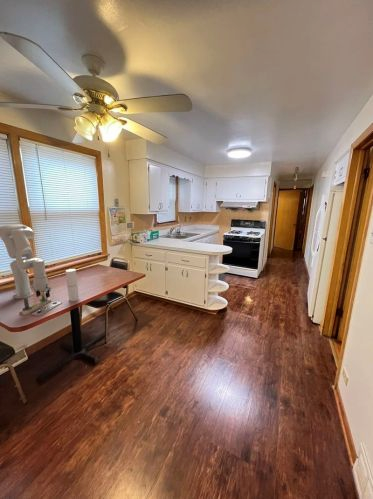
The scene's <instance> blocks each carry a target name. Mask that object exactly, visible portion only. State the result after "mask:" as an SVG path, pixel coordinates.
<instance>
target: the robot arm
mask: <svg viewBox="0 0 373 499" xmlns="http://www.w3.org/2000/svg"><path fill="white" fill-rule="evenodd" d="M33 238H35V232H34V231H33V229H31V227H29V226H27V225H24V224H10V225H9V224H8V225H7V224H6V225H2V226H0V239H1V240H2V242H3V243H4V245H5V248H6V251H7V254H8V256H9V258H10V259H13V261H11V262H10V263H9V264H10V265H9V267H10V270H11V272H12V275H13V280H14V286H15V291H14V292H13V293H14V294H15V295H14V298H15V299H26V298H29V297H31V296H33V295H34V292H35V295H36V298H39V297H41V291H44V292H45V298H48V299H49V297H51V294H50V292H51V291H52V288H53V287H51V286H50V284H49V280H48V277H47V272H46V267H45V266H46V265H45V261H44V260H43V259H41V258H39V257H35V255H34V251H33V249H32V248H31V247H32V244H31V242H30V241H29V240H30V239H33ZM31 269H32V270H33V283H32V284H33V286H32V287H31V283H30V277H29V273H28V272H26V271H28V270H31ZM31 288H32V289H33V290H34V292H33V291H32V290H31Z"/></svg>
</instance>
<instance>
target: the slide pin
mask: <svg viewBox="0 0 373 499" xmlns="http://www.w3.org/2000/svg"><path fill="white" fill-rule="evenodd" d="M40 293H41V296H40V297H41V298H39V301H47V300H48V299H49V297H48V298H46V295H45V293H46V292H45V291H40Z"/></svg>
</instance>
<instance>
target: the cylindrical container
mask: <svg viewBox="0 0 373 499" xmlns="http://www.w3.org/2000/svg"><path fill="white" fill-rule="evenodd" d="M65 277H66V284H67V293H68V300H69V301H70V302H76V301H78V300H79V299H80V295H79V286H78V278H77V269H76V268H70V269H66V270H65Z"/></svg>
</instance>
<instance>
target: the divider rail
mask: <svg viewBox="0 0 373 499" xmlns="http://www.w3.org/2000/svg"><path fill="white" fill-rule="evenodd" d="M28 298H29V297H26V298H23V303H24V307H23V308H22V310H19V312H18V313H19V315H23V316H26V315H28V314H31V313H32V312H34V311H35V310H36V311H37V309H38V310H39V308H41V307H44V306H46V305H48V304H50V303H51V302H52V298H48V300H47V301H40V300H39V301H37V302H36V303H33V304H32V305H30V304H29V299H28Z"/></svg>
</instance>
